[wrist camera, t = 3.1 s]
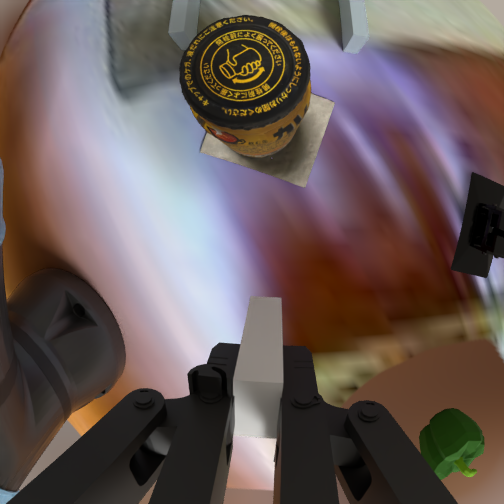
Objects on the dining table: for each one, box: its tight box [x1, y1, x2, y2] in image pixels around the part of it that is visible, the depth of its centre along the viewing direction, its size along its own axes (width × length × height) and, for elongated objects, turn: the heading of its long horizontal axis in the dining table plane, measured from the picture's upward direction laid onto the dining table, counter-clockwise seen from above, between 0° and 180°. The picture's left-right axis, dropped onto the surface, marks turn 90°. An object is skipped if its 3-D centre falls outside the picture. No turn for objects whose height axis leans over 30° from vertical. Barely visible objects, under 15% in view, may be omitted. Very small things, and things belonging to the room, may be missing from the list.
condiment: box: [180, 15, 335, 188], centre depth 15 cm, size 7×8×12 cm
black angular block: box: [451, 172, 504, 278], centre depth 20 cm, size 12×7×5 cm, turn 171°
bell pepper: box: [419, 408, 484, 480], centre depth 23 cm, size 8×8×10 cm
